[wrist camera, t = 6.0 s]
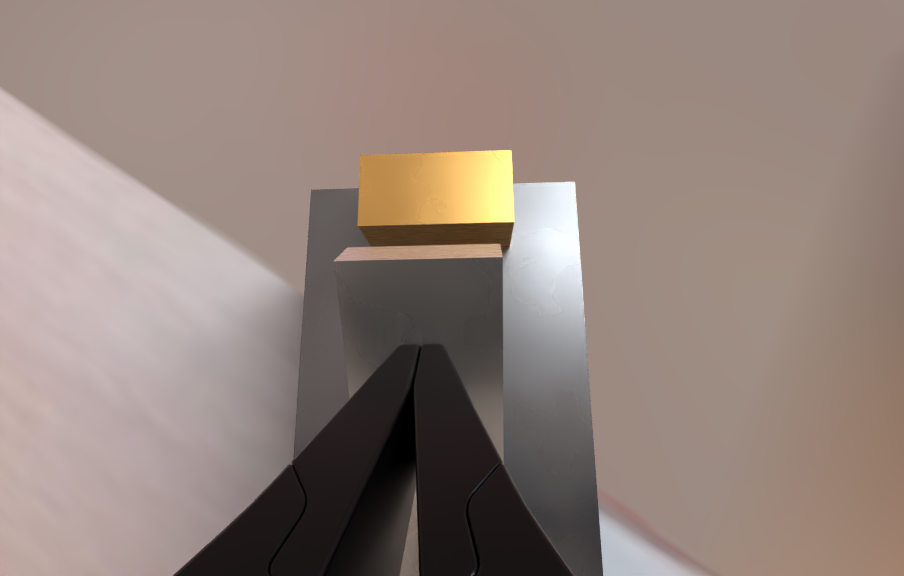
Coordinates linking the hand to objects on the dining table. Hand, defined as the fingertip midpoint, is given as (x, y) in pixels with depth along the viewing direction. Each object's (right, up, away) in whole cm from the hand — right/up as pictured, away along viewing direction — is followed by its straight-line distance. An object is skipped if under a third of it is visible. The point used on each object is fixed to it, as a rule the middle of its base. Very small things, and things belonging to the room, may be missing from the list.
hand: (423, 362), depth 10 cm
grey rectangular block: (+1, -3, +9) cm, 9 cm away
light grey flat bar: (0, -2, +2) cm, 2 cm away
